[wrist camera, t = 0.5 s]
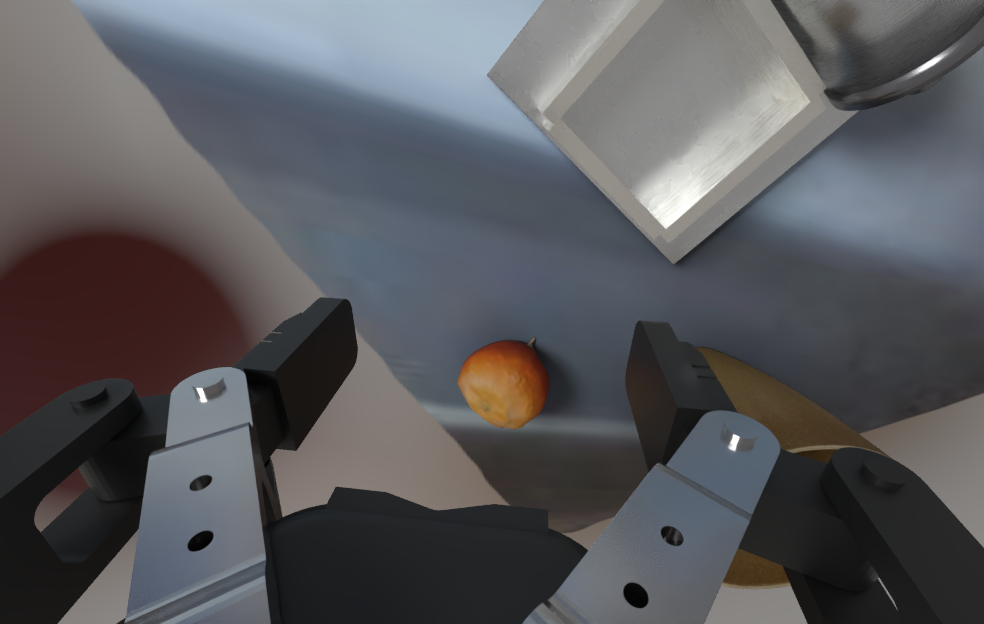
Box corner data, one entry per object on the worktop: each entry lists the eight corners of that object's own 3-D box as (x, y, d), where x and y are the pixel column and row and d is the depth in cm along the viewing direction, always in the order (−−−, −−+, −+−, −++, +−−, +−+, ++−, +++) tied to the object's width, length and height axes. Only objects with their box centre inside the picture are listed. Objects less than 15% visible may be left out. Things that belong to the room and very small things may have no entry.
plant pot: (767, 414, 44) (891, 573, 30) (623, 441, 46) (679, 601, 32) (775, 292, 37) (944, 428, 23) (605, 330, 39) (666, 475, 25)
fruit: (572, 389, 41) (537, 453, 35) (503, 376, 45) (462, 431, 40) (557, 320, 37) (515, 380, 31) (483, 313, 41) (435, 364, 36)
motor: (487, 74, 29) (483, 78, 19) (755, -275, 21) (957, -537, 12) (666, 257, 35) (727, 323, 26) (920, 43, 28) (1130, 31, 18)
